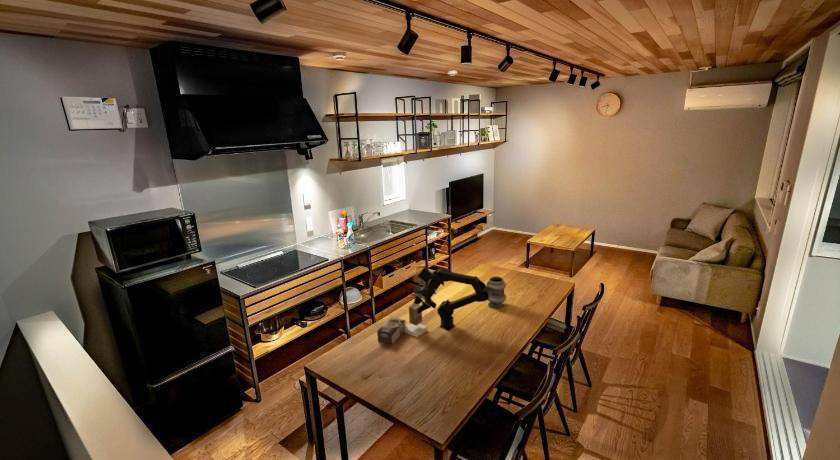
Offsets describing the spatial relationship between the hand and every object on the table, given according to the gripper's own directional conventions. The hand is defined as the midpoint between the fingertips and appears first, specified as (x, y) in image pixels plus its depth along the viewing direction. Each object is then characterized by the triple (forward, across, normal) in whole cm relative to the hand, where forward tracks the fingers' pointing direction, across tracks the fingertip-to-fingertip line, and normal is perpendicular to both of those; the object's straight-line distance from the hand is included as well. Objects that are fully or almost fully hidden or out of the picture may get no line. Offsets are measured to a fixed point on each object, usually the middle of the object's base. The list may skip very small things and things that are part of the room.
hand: (415, 310), depth 211 cm
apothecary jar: (-30, -1, +49) cm, 58 cm away
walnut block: (+5, 0, +5) cm, 7 cm away
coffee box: (+12, -8, +2) cm, 14 cm away
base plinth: (+9, 0, +9) cm, 13 cm away
